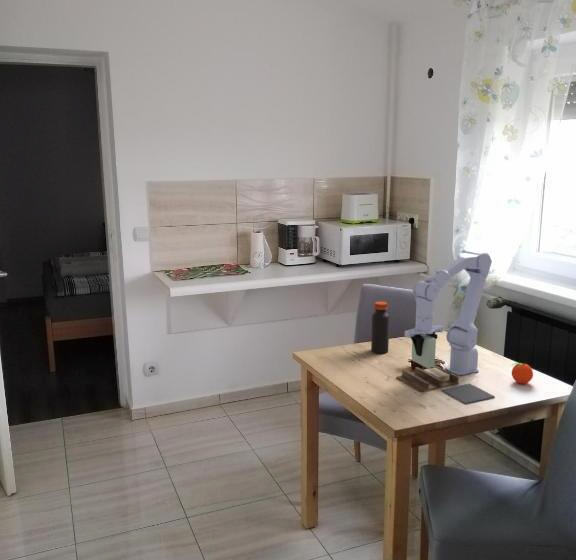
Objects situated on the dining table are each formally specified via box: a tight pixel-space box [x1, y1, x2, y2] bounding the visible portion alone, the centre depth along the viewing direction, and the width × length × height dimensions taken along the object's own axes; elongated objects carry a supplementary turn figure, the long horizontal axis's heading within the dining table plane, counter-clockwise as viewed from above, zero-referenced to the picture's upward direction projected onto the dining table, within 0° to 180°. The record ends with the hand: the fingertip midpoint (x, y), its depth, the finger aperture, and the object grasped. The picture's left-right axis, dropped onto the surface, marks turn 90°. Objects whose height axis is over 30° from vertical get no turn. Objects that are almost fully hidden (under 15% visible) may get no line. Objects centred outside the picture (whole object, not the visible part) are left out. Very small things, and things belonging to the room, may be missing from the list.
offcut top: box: [423, 368, 450, 379], centre depth 210 cm, size 5×8×1 cm, turn 25°
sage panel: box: [411, 334, 437, 369], centre depth 205 cm, size 3×9×10 cm, turn 25°
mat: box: [440, 383, 496, 405], centre depth 197 cm, size 12×12×1 cm
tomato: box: [508, 362, 534, 384], centre depth 206 cm, size 8×7×7 cm
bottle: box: [370, 301, 390, 355], centre depth 237 cm, size 7×7×20 cm
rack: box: [396, 364, 460, 393], centre depth 209 cm, size 16×14×3 cm
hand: (422, 354), depth 206 cm, fingers closed on sage panel, 3 cm apart
